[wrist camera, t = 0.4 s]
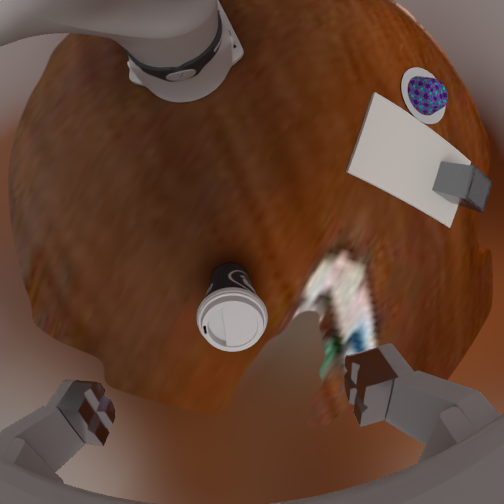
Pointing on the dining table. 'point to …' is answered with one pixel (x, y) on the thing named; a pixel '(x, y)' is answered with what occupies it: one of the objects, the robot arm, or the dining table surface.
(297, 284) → the dining table surface
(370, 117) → the placemat
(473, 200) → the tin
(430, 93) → the pudding
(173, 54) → the robot arm
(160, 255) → the dining table surface
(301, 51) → the dining table surface
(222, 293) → the coffee cup
